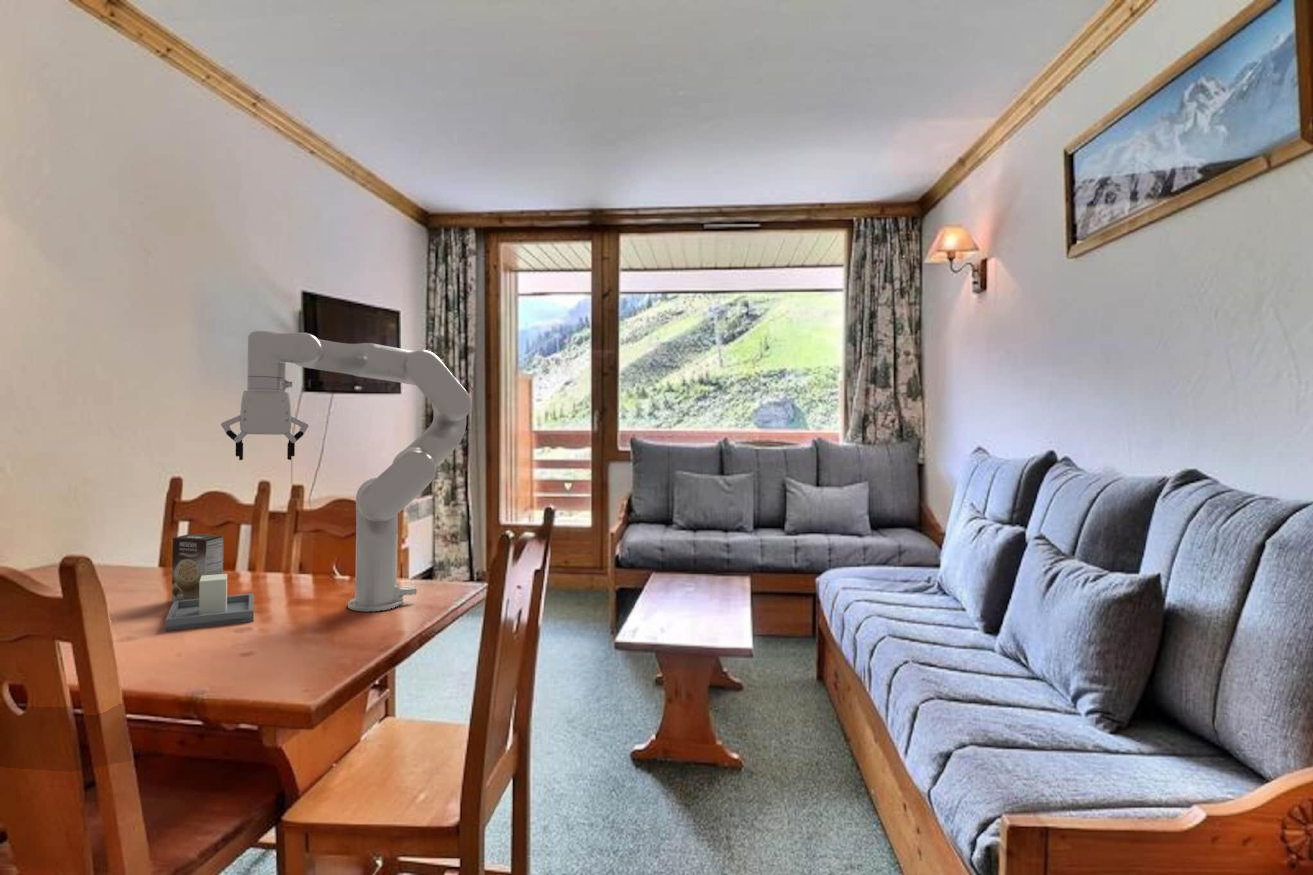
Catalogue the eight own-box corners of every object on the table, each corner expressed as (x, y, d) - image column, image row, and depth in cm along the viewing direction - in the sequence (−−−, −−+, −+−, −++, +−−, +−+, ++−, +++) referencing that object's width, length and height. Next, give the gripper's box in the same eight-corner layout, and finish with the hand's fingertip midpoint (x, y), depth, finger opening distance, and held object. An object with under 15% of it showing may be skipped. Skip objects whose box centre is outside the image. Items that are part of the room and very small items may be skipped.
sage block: (226, 607, 156) (227, 573, 156) (225, 614, 151) (226, 579, 150) (201, 609, 153) (201, 575, 153) (199, 616, 148) (199, 581, 148)
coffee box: (169, 602, 162) (170, 537, 161) (190, 595, 168) (191, 533, 168) (204, 604, 161) (205, 539, 160) (224, 597, 167) (225, 534, 167)
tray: (253, 603, 163) (253, 593, 163) (253, 621, 149) (253, 610, 149) (173, 611, 155) (173, 601, 155) (165, 631, 141) (165, 619, 141)
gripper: (307, 387, 160) (306, 458, 160) (222, 384, 151) (221, 458, 151) (309, 387, 154) (308, 460, 154) (220, 383, 145) (220, 461, 145)
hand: (265, 459), depth 153 cm, fingers open, 9 cm apart
